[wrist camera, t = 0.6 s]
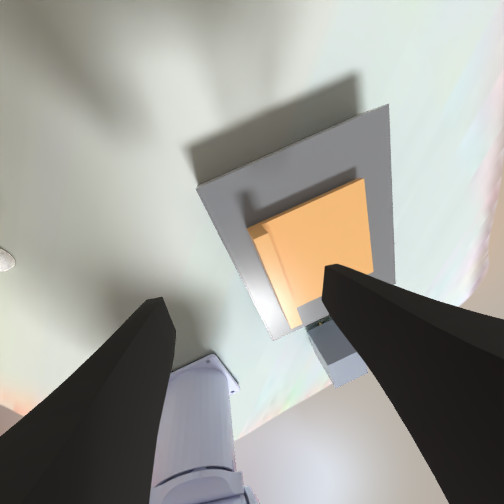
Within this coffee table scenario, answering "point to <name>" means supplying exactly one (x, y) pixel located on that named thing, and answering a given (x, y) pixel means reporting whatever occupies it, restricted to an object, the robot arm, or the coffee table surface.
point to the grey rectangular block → (336, 354)
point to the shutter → (313, 244)
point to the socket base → (299, 191)
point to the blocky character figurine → (6, 260)
